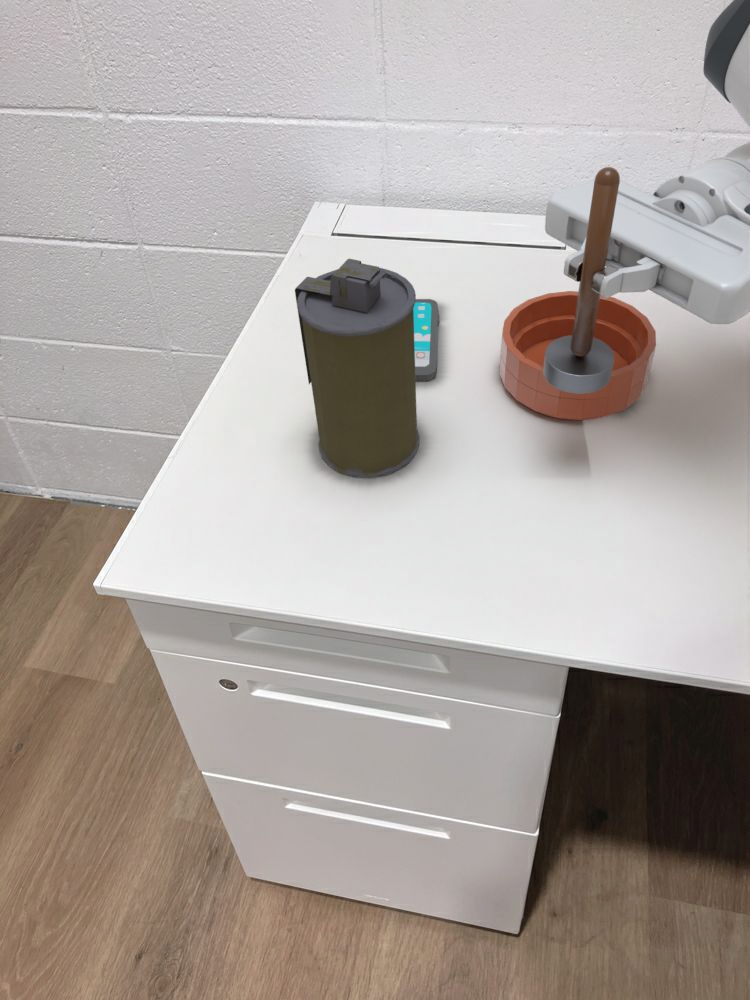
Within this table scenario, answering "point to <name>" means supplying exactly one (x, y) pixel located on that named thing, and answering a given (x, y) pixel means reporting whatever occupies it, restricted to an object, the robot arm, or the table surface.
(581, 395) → the bowl
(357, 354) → the canister
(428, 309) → the smartphone
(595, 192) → the peg on round base
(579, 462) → the table surface
